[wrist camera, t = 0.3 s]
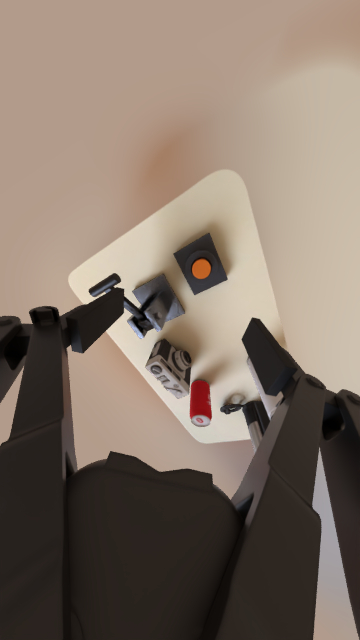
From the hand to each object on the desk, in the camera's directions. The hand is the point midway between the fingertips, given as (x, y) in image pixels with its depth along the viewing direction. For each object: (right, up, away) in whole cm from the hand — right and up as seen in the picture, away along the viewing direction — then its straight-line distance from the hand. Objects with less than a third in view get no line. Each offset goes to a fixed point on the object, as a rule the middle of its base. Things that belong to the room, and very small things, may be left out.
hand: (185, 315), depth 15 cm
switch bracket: (-6, +4, +24) cm, 25 cm away
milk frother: (+23, -32, +39) cm, 56 cm away
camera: (-1, -11, +31) cm, 33 cm away
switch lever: (-9, +3, +11) cm, 15 cm away
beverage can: (+6, -23, +37) cm, 44 cm away
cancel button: (+4, +10, +15) cm, 19 cm away
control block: (+4, +12, +19) cm, 22 cm away
